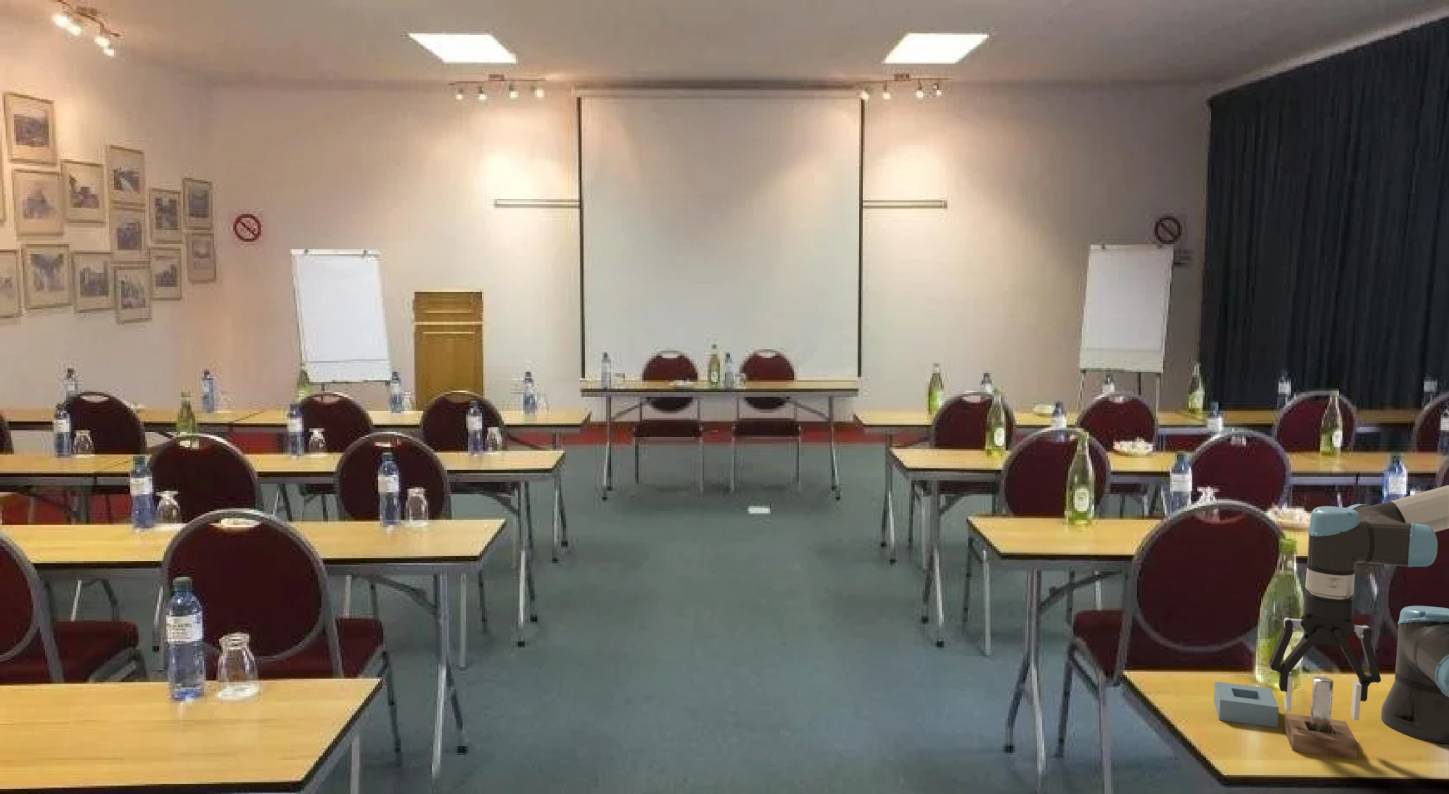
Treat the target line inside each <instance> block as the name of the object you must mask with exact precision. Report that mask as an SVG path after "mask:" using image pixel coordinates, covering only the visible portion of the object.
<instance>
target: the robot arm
mask: <svg viewBox="0 0 1449 794" xmlns="http://www.w3.org/2000/svg"><path fill="white" fill-rule="evenodd" d="M1447 529H1449V484H1447V485H1444V486H1441V487H1440V486H1439V487H1437V488H1434V489H1430V490H1426V491H1422V492H1419V493H1413V494H1412V495H1408V496H1403V497H1400V498H1397V499H1393V500H1390V501H1385V502H1381V503H1378V504H1377V503H1376V504H1373V505H1369V504H1363V503H1356V504H1352V505H1349V506H1348V507H1342V506H1341V507H1338V506H1334V505H1331V506H1329V505H1324V506H1323V505H1322V506H1318V507H1314V509H1313V510H1312V511H1311V513H1310V518H1309V527H1308V532H1307V533H1308V542H1307V543H1308V544H1307V564H1306V575H1305V585H1304V586H1305V588H1306V590H1307V591H1306V592H1304V603H1303V614H1302V616H1301V617H1300V618H1290V617H1289V616H1284V617H1283V618H1282V620H1283V621H1282V631H1281V633H1280V635H1279V637H1278V640H1277V642H1276V644H1275V647H1274V648H1273V651H1272V654H1271V656H1270V659H1269V661H1268V665H1269V667H1270V669H1271V670H1272V671H1273V672H1274V671H1276V672H1277V673H1279V675H1278V676H1279V679H1278V688H1279V690H1280V692H1284V696H1283V697H1284V699H1283V700H1284V701H1283V707H1284V709H1285V711H1286V712H1290V713H1291V712H1292V701H1293V686H1294V685H1293V683H1294V676H1293V674H1292V670H1293V669H1294V668H1295V667H1296V666H1297V664H1298V663H1299V662H1300V660H1302V658H1303V657H1304V656H1305V654H1306V653H1307V652H1308V651H1309V649H1311V648H1312V647H1313V646H1314V645H1315V644H1316V645H1323V646H1324V645H1328V646H1331V647H1337V646H1340V649H1341V650H1342V652H1343V653H1344V656H1345V658H1346V659H1347V661H1348V662H1349V664H1350V666H1351V668H1352V669H1353V672H1355V674H1356V677H1357V678H1358V679H1353V680H1352V690H1351V691H1352V694H1351V708H1350V715H1351V718H1352V719H1353V720H1354V721H1360V712H1361V711H1360V710H1361V702H1365V703H1366V702H1367V700H1368V691H1369V687H1370V685H1371V684H1372V683H1376V684H1379V683H1380V682H1381V681H1382V677H1381V675H1380V671H1379V667H1378V663H1377V660H1376V656H1375V652H1374V647H1373V645H1372V638H1373V637H1372V636H1373V630H1372V628H1370V627H1369V625H1367V624H1362V625H1360V624H1359V625H1357V624H1354V623H1353V610H1354V609H1353V608H1354V607H1353V606H1354V598H1353V597H1352V596H1353V595H1354V594H1355V577H1356V570H1357V569H1356V567H1357V564H1368V565H1369V564H1371V565H1381V566H1382V565H1385V566H1399V567H1408V568H1412V567H1415V568H1416V567H1428V566H1431V565H1432V564H1434V562H1435V560H1436V558H1437V554H1438V538H1437V535H1436V533H1437V532H1440V531H1444V530H1447ZM1397 625H1398V627H1397V628H1398V629H1397V641H1396V642H1397V643H1396V645H1397V646H1396V655H1395V657H1396V658H1395V660H1396V661H1395V673H1394V682H1393V684H1392V686H1391V687H1390V689H1389V691H1388V694H1387V696H1386V698H1385V700H1384V702H1383V703H1382V707H1381V712H1380V719H1381V721H1382V723H1384V725H1386V726H1387V727H1389V728H1390V729H1393V730H1394V731H1396V732H1399V733H1401V734H1403V735H1406V736H1409V737H1413V738H1416V739H1420V740H1423V741H1427V742H1432V743H1440V744H1449V608H1446V607H1439V606H1427V605H1411V606H1409V605H1408V606H1405V607H1403V608H1402V609H1401V611H1400V612H1399V620H1398V621H1397ZM1298 627H1301V628H1302V629H1303V631H1304V632H1305V633H1304V634H1303V635H1302V637H1301V639H1300V640H1299V642H1298V643H1297V644H1296V646H1295V647H1293V649H1292V650H1291V651H1290V653H1289V654H1288V655H1287V656H1286V658H1285V659H1284V656H1285V653H1286V652H1287V651H1286V650H1287V648H1288V646H1289V644H1290V641H1291V639H1292V637H1293V633H1294V632H1296V631H1297V630H1298ZM1354 632H1355V635H1356V636H1357V637H1358V638H1359V640H1360V642H1361V646H1362V650H1363V654H1364V658H1365V662H1366V666H1367V669H1368V673H1365V672H1364V670H1363V668H1362V666H1361V665H1360V663H1359V661H1358V660H1357V658H1356V656H1355V654H1354V653H1353V651H1352V649H1351V647H1350V645H1349V644H1348V642H1347V639H1348V638H1349V637H1350V636H1351V635H1352V634H1353V633H1354ZM1283 659H1284V660H1283ZM1282 660H1283V662H1282Z"/></svg>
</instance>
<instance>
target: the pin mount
mask: <svg viewBox="0 0 1449 794" xmlns="http://www.w3.org/2000/svg"><path fill="white" fill-rule="evenodd" d="M1283 713H1284V714H1283V715H1284V716H1283V731H1284V734H1285V735H1286V736H1285V737H1286V739H1287V740H1288V743H1289V745H1290V747H1291V750H1292V751H1295V752H1302V753H1310V754H1314V755H1315V754H1317V755H1322V756H1323V755H1324V756H1331V757H1337V758H1345V759H1351V760H1357V758H1358V757H1357V756H1358V746H1359V745H1358V743H1359V742H1358V741H1357V739H1356V738H1355V736H1354V734H1353V733H1352V730H1351V729H1350V727H1349V725H1348V723H1347V722H1346V720H1340V719H1334V718H1333V719H1332V718H1331V722H1330V733H1323V732H1316V731H1309V729H1310V715H1302V714H1293V713H1286V712H1283Z"/></svg>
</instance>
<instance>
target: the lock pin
mask: <svg viewBox="0 0 1449 794" xmlns="http://www.w3.org/2000/svg"><path fill="white" fill-rule="evenodd" d="M1311 688H1312V689H1311V703H1310V704H1311V705H1310V715H1309V716H1310V729H1309V731H1316V732H1323V733H1330V722H1331V719H1332V706H1333V693H1334V691H1333V690H1334V680H1333V679H1331V678H1329V677H1326V676H1317V675H1316V676H1313V677H1312V686H1311Z"/></svg>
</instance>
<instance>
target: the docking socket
mask: <svg viewBox="0 0 1449 794" xmlns="http://www.w3.org/2000/svg"><path fill="white" fill-rule="evenodd" d="M1213 693H1214V694H1213V703H1214V706H1215V709H1216V710H1215V711H1216V713H1217V714H1216V715H1217V717H1218V720H1219V721H1225V722H1231V723H1232V722H1233V723H1239V724H1246V725H1256V726H1261V727H1269V728H1278V723H1279V711H1280V710H1279V709H1280V706H1279V704H1278V702H1277V700H1276V698H1275V695H1274V692H1273V690H1272V688H1271V687H1264V686H1254V685H1247V684H1237V683H1231V682H1225V681H1224V682H1222V681H1214V692H1213Z"/></svg>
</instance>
